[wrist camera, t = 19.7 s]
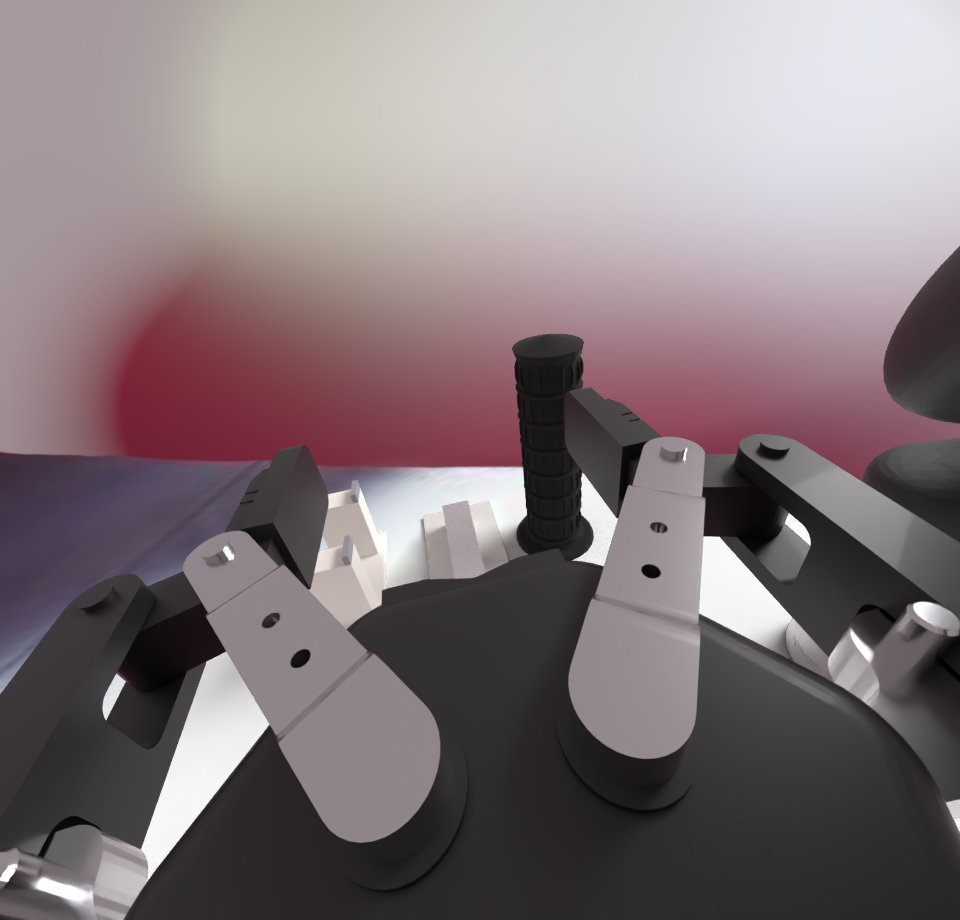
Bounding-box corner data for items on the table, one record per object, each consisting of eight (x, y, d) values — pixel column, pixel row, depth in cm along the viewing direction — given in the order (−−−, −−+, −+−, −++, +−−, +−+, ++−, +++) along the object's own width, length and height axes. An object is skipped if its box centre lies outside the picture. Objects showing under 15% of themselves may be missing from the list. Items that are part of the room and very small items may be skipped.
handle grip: (563, 575, 47) (608, 528, 52) (559, 359, 32) (622, 324, 38) (501, 538, 53) (547, 499, 59) (474, 343, 39) (538, 315, 44)
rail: (446, 524, 56) (442, 506, 54) (471, 519, 57) (467, 500, 55) (476, 698, 36) (470, 678, 34) (513, 688, 37) (509, 668, 35)
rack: (386, 535, 57) (363, 472, 50) (385, 635, 43) (353, 565, 37) (337, 546, 56) (308, 483, 50) (320, 651, 43) (277, 583, 37)
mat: (489, 503, 60) (489, 501, 59) (551, 691, 36) (551, 688, 36) (423, 517, 59) (423, 515, 59) (444, 719, 35) (443, 717, 35)
